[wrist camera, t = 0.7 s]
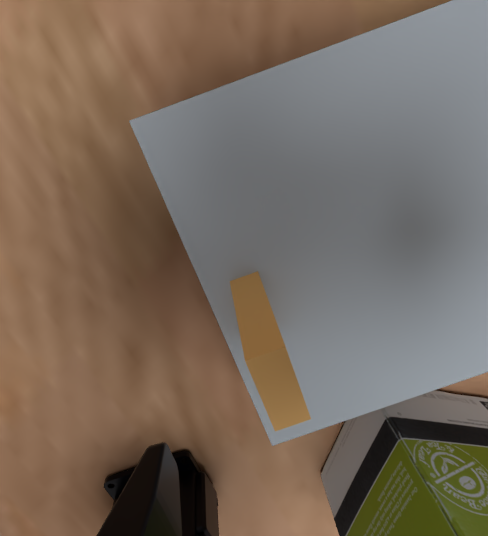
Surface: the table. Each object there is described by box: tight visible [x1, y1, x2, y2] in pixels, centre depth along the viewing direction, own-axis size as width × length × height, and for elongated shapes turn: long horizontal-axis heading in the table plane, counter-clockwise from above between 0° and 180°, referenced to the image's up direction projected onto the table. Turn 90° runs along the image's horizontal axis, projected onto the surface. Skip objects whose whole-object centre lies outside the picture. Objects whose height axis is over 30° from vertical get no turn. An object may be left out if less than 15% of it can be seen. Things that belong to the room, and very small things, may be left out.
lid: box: [129, 0, 488, 446], centre depth 13 cm, size 16×16×6 cm
